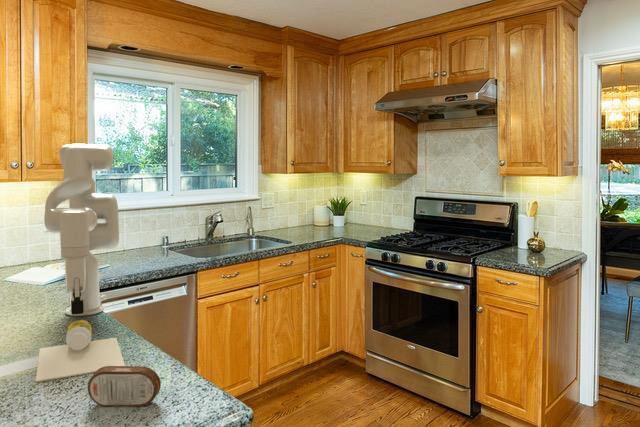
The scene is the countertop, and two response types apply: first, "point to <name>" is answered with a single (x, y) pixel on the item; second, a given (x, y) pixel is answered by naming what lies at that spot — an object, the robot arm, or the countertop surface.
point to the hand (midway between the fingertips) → (77, 313)
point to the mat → (77, 359)
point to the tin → (124, 386)
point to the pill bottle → (78, 334)
